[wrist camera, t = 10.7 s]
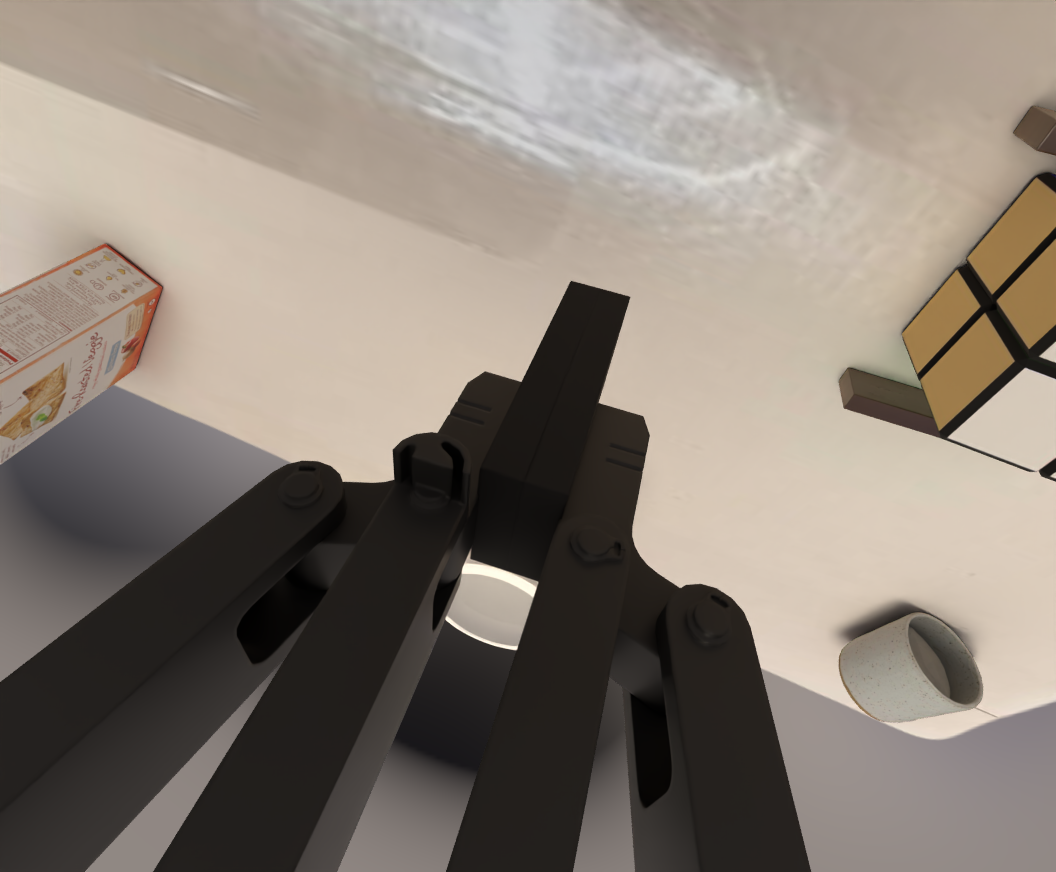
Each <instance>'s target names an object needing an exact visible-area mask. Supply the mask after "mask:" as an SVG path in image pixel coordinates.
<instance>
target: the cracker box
mask: <svg viewBox="0 0 1056 872" xmlns="http://www.w3.org/2000/svg"><path fill="white" fill-rule="evenodd" d="M161 290H162V287H161V286H160V285H159V284H157V283H156V282H155V281H153V280H152V279H151V278H149V277H148V276H147V275H146V274H144V273H143V272H142V271H140V270H139V269H138V268H136V267H135V266H134V265H133V264H131V263H130V262H129V261H127V260H126V259H125V258H123V257H122V256H121V255H120V254H118V253H117V252H116V251H114V250H113V249H112V248H110V247H109V246H108V245H106V244H103V245H101V246H99V247H97V248H95V249H92V250H90V251H88V252H86V253H84V254H82V255H80V256H78V257H76V258H74V259H72V260H70V261H68V262H65V263H63V264H61V265H59V266H57V267H55V268H53V269H51V270H49V271H47V272H45V273H42V274H40V275H38V276H36V277H34V278H32V279H30V280H28V281H26V282H24V283H22V284H20V285H17V286H15V287H13V288H11V289H9V290H7V291H5V292H3V293H1V294H0V465H1V464H2V463H3V462H5V461H6V460H8V459H9V458H10V457H12V456H13V455H14V454H16V453H18V452H19V451H20V450H22V449H23V448H25V447H26V446H28V445H29V444H30V443H32V442H33V441H34V440H36V439H37V438H39V437H40V436H42V435H43V434H44V433H46V432H47V431H49V430H50V429H51V428H53V427H54V426H55V425H57V424H58V423H60V422H61V421H63V420H64V419H65V418H67V417H68V416H70V415H71V414H72V413H74V412H75V411H77V410H78V409H79V408H81V407H82V406H84V405H85V404H86V403H88V402H89V401H91V400H92V399H94V398H95V397H96V396H98V395H99V394H101V393H102V392H103V391H105V390H106V389H108V388H109V387H110V386H112V385H113V384H115V383H116V382H117V381H119V380H120V379H122V378H123V377H125V376H126V375H127V374H129V373H130V372H131V371H133V370H134V369H135V368H136V365H137V361H138V358H139V356H140V353H141V349H142V346H143V343H144V340H145V337H146V335H147V331H148V329H149V326H150V323H151V320H152V317H153V314H154V311H155V308H156V305H157V302H158V299H159V296H160V294H161Z"/></svg>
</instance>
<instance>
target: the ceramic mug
mask: <svg viewBox="0 0 1056 872" xmlns="http://www.w3.org/2000/svg"><path fill="white" fill-rule="evenodd" d="M839 671H840V676H841V679H842V682H843V684H844V686H845V688H846V690H847V692H848V694H849V695H850V697H851V698H852V699H853V701H854V702H855V703H856V704H857V705H858V707H859V708H860V709H862V710H863V711H864V712H865V713H866V714H868V715H869V716H871V717H873V718H875V719H877V720H879V721H883V722H898V723H900V722H908V721H914V720H917V719H921V718H927V717H933V716H939V715H943V714H949V713H955V712H960V711H966V710H970V709H973V708H975V707H976V706H977V705H978V704H979V703H980V701H981V700H982V696H983V684H982V677H981V675H980V672H979V670H978V667H977V665H976V663H975V661H974V659H973V657H972V655H971V654H970V652H969V650H968V649H967V647H966V646H965V645H964V644H963V642H962V641H961V640H960V638H959V637H958V636H957V635H956V634H955V633H954V632H953V631H952V630H951V629H950V628H949V627H948V626H947V625H945V624H944V623H943V622H941V621H940V620H938V619H937V618H935V617H933V616H931V615H929V614H926V613H921V612H916V613H911V614H909V615H907V616H905V617H903V618H900V619H898V620H896V621H894V622H891V623H889V624H887V625H884V626H882V627H880V628H878V629H876V630H874V631H871V632H869V633H867V634H864V635H862V636H860V637H858V638H856V639H854V640H852V641H851V642H849V643H848V644H847V645H846V646H845V647H844V648H843V649H842V651H841V653H840V656H839Z"/></svg>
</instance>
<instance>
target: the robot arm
mask: <svg viewBox="0 0 1056 872" xmlns="http://www.w3.org/2000/svg"><path fill="white" fill-rule="evenodd" d="M629 300H630V297H629V296H625V295H622V294H618V293H614V292H611V291H607V290H603V289H600V288H596V287H592V286H588V285H585V284H581V283H577V282H574V281H571V282H570V284H569V286H568V288H567V290H566V292H565V294H564V296H563V298H562V300H561V302H560V304H559V306H558V308H557V310H556V313H555V315H554V317H553V319H552V321H551V323H550V325H549V327H548V329H547V331H546V333H545V335H544V337H543V339H542V341H541V343H540V345H539V347H538V349H537V352H536V354H535V356H534V358H533V360H532V362H531V364H530V366H529V368H528V370H527V372H526V374H525V376H524V378H523V380H522V382H519V381H516V380H512V379H509V378H506V377H502V376H499V375H495V374H492V373H489V372H484V373H482V374H481V375H479V376H478V377H476V378H475V379H473V380H471V381H470V382H468V383H467V385H466V387H465V388H464V390H463V392H462V393H461V395H460V397H459V398H458V402H456V403H455V405H454V407H453V408H452V410H451V412H450V415H448V417H447V418H446V420H445V422H444V423H443V425H442V427H441V428H440V430H439V432H438V433H433V432H430V433H422V434H415V435H413V436H411V437H409V438H406V439H404V440H402V441H401V442H400V443H399V444H398V445H397V446H396V447H395V448H394V449H393V463H394V480H392V481H388V482H380V483H361V482H342V479H341V476H340V474H339V473H338V472H337V471H336V470H335V469H333V468H332V467H331V466H329V465H326V464H324V463H321V462H318V461H300V462H295V463H291V464H287V465H285V466H283V467H281V468H280V469H278V470H276V471H274V472H272V473H271V474H270V475H269V476H267V477H266V478H265V479H263V480H262V481H261V482H259V483H258V484H257V485H255V486H254V487H253V488H252V489H250V490H249V491H248V492H246V493H245V494H244V495H243V496H241V497H240V498H239V499H238V500H236V501H235V502H233V503H232V504H231V505H230V506H228V507H227V508H226V509H224V510H223V511H222V512H220V513H219V514H218V515H217V516H215V517H214V518H213V519H211V520H210V521H209V522H207V523H206V524H205V525H204V526H202V527H201V528H200V529H198V530H197V531H196V532H195V533H193V534H192V535H191V536H189V537H188V538H187V539H186V540H184V541H183V542H181V543H180V544H179V545H178V546H176V547H175V548H174V549H172V550H171V551H170V552H169V553H167V554H166V555H165V556H163V557H162V558H161V559H160V560H158V561H157V562H156V563H154V564H153V565H152V566H150V567H149V568H148V569H147V570H145V571H144V572H143V573H141V574H140V575H139V576H137V577H136V578H135V579H133V580H132V581H131V582H130V583H128V584H127V585H126V586H125V587H123V588H122V589H120V590H119V591H118V592H117V593H115V594H114V595H113V596H112V597H110V598H109V599H108V600H106V601H105V602H104V603H102V604H101V605H100V606H99V607H97V608H96V609H95V610H93V611H92V612H91V613H89V614H88V615H87V616H85V617H84V618H83V619H82V620H80V621H79V622H78V623H76V624H75V625H74V626H73V627H71V628H70V629H69V630H67V631H66V632H65V633H63V634H62V635H61V636H60V637H58V638H57V639H56V640H54V641H53V642H52V643H51V644H49V645H48V646H47V647H45V648H44V649H43V650H41V651H40V652H39V653H37V654H36V655H35V656H34V657H32V658H31V659H30V660H29V661H27V662H26V663H25V664H23V665H22V666H21V667H19V668H18V669H17V670H15V671H14V672H13V673H12V674H10V675H9V676H8V677H6V678H5V679H4V680H2V681H1V682H0V872H85V871H86V870H87V868H88V867H89V866H90V865H91V864H92V863H93V862H94V861H95V860H96V859H97V858H98V857H99V856H100V855H101V854H102V852H103V851H104V850H105V849H106V848H107V847H108V846H109V845H110V844H111V843H112V842H113V841H114V840H115V838H117V836H118V835H119V834H120V833H121V832H122V831H123V830H124V829H125V828H126V827H127V826H128V825H129V824H130V823H131V821H132V820H133V819H134V818H135V817H136V816H137V815H138V814H139V813H140V812H141V811H142V810H143V809H144V807H146V805H148V803H149V802H150V801H151V800H152V799H153V798H154V797H155V796H156V795H157V794H158V793H159V792H160V791H161V790H162V789H163V787H164V786H165V785H166V784H167V783H168V782H169V781H170V780H171V779H172V778H173V777H174V776H175V775H176V774H177V772H178V771H179V770H180V769H181V768H182V767H183V766H184V765H185V764H186V763H187V762H188V761H189V760H190V759H191V758H192V757H193V755H194V754H195V753H196V752H197V751H198V750H199V749H200V748H201V747H202V746H203V745H204V744H205V743H206V742H207V741H208V739H209V738H210V737H211V736H212V735H213V734H214V733H215V732H216V731H217V730H218V729H219V728H220V727H221V726H222V725H223V723H225V721H226V720H227V719H228V718H229V717H230V716H231V715H232V714H233V713H234V712H235V711H236V710H237V709H238V708H239V706H240V705H241V704H242V703H243V702H244V701H245V700H246V699H247V698H248V697H249V696H250V695H251V694H252V693H253V692H254V691H255V689H256V688H257V687H258V686H259V685H260V684H261V683H262V682H263V681H264V680H265V679H266V678H267V677H268V676H269V674H270V673H271V672H272V671H273V670H274V669H275V668H276V667H277V666H278V665H279V664H280V663H281V662H282V661H283V660H284V659H285V660H284V662H283V663H282V665H281V667H280V668H279V670H278V671H277V673H276V674H275V676H274V678H273V679H272V681H271V683H270V684H269V686H268V687H267V689H266V691H265V692H264V694H263V696H262V697H261V699H260V701H259V702H258V704H257V705H256V707H255V709H254V710H253V712H252V713H251V715H250V717H249V718H248V720H247V721H246V723H245V724H244V726H243V728H242V729H241V731H240V733H239V734H238V736H237V738H236V739H235V741H234V742H233V744H232V746H231V747H230V749H229V750H228V752H227V753H226V755H225V757H224V758H223V760H222V762H221V763H220V765H219V766H218V768H217V770H216V771H215V773H214V775H213V776H212V778H211V779H210V781H209V783H208V784H207V786H206V787H205V789H204V791H203V792H202V794H201V795H200V797H199V799H198V800H197V802H196V804H195V805H194V807H193V808H192V810H191V812H190V813H189V815H188V816H187V818H186V820H185V821H184V823H183V825H182V826H181V828H180V829H179V831H178V832H177V834H176V836H175V837H174V839H173V841H172V842H171V844H170V845H169V847H168V849H167V850H166V852H165V854H164V855H163V857H162V858H161V860H160V862H159V863H158V865H157V866H156V868H155V870H154V871H153V872H337V871H338V868H339V866H340V863H341V861H342V859H343V857H344V854H345V852H346V850H347V847H348V845H349V843H350V840H351V838H352V835H353V833H354V831H355V829H356V826H357V824H358V822H359V819H360V817H361V815H362V812H363V810H364V808H365V805H366V803H367V801H368V798H369V796H370V794H371V791H372V789H373V787H374V784H375V782H376V780H377V777H378V775H379V773H380V770H381V768H382V766H383V763H384V761H385V759H386V756H387V754H388V751H389V749H390V747H391V745H392V742H393V740H394V738H395V735H396V733H397V730H398V728H399V726H400V724H401V721H402V719H403V716H404V714H405V712H406V709H407V707H408V705H409V703H410V700H411V698H412V696H413V693H414V691H415V688H416V686H417V684H418V681H419V679H420V677H421V675H422V672H423V670H424V667H425V665H426V663H427V660H428V658H429V656H430V653H431V651H432V649H433V646H434V644H435V642H436V639H437V637H438V635H439V632H440V630H441V628H442V625H443V623H444V620H445V618H446V616H447V614H448V611H449V609H450V607H451V604H452V602H453V600H454V597H455V595H456V593H457V590H458V588H459V586H460V581H461V576H462V568H463V566H464V563H465V561H466V559H467V557H468V554H469V552H470V550H471V554H470V559H472V560H475V561H478V562H481V563H484V564H487V565H490V566H493V567H496V568H499V569H502V570H505V571H508V572H511V573H514V574H517V575H520V576H523V577H526V578H529V579H532V580H535V581H538V585H537V588H536V591H535V594H534V598H533V601H532V604H531V607H530V610H529V613H528V616H527V620H526V623H525V626H524V629H523V632H522V635H521V638H520V641H519V645H518V648H517V651H516V654H515V657H514V660H513V663H512V667H511V670H510V673H509V676H508V679H507V682H506V685H505V689H504V692H503V695H502V698H501V701H500V704H499V707H498V711H497V714H496V717H495V720H494V723H493V726H492V729H491V732H490V735H489V739H488V742H487V745H486V748H485V751H484V754H483V757H482V760H481V764H480V767H479V770H478V773H477V776H476V779H475V782H474V786H473V789H472V792H471V795H470V798H469V801H468V804H467V807H466V811H465V814H464V817H463V820H462V823H461V826H460V830H459V833H458V836H457V839H456V842H455V845H454V848H453V851H452V855H451V858H450V861H449V864H448V867H447V870H446V872H573V868H574V863H575V857H576V852H577V846H578V841H579V836H580V830H581V825H582V819H583V814H584V808H585V804H586V798H587V793H588V787H589V782H590V777H591V772H592V766H593V760H594V755H595V750H596V745H597V739H598V734H599V728H600V723H601V718H602V712H603V707H604V702H605V697H606V691H607V686H608V680H609V677H610V678H611V679H613V680H614V681H615V682H617V683H618V684H619V685H621V686H622V691H623V706H624V720H625V734H626V748H627V762H628V776H629V791H630V804H631V818H632V833H633V848H634V860H635V872H811V869H810V865H809V861H808V857H807V853H806V850H805V845H804V841H803V837H802V833H801V829H800V825H799V821H798V817H797V813H796V809H795V805H794V801H793V797H792V793H791V789H790V785H789V781H788V777H787V772H786V769H785V765H784V760H783V757H782V753H781V748H780V744H779V740H778V736H777V732H776V728H775V724H774V720H773V716H772V712H771V708H770V704H769V700H768V696H767V692H766V689H765V684H764V680H763V676H762V672H761V668H760V664H759V660H758V656H757V652H756V648H755V643H754V639H753V635H752V631H751V627H750V625H749V623H748V621H747V618H746V616H745V614H744V612H743V611H742V609H741V608H740V607H739V606H738V605H737V604H736V602H735V601H734V600H733V599H732V598H731V597H729V596H728V595H726V594H725V593H723V592H721V591H720V590H718V589H717V588H713V587H710V586H706V585H703V584H694V585H685V586H683V587H682V588H679V587H677V586H676V585H674V584H673V583H671V582H670V581H668V580H667V579H665V578H664V577H662V576H661V575H659V574H658V573H657V572H655V571H654V570H653V569H652V568H650V567H649V566H648V565H647V564H646V563H645V562H644V560H643V559H642V558H641V557H640V555H639V553H638V551H637V550H636V548H635V546H634V542H633V538H632V526H633V520H634V515H635V510H636V505H637V499H638V494H639V489H640V484H641V479H642V473H643V472H642V471H643V468H644V463H645V458H646V457H645V456H646V452H647V447H648V442H649V437H650V435H649V432H648V429H647V426H646V423H645V420H644V417H643V416H640V415H637V414H634V413H630V412H627V411H623V410H620V409H617V408H613V407H610V406H606V405H603V404H600V403H599V399H600V396H601V393H602V390H603V386H604V383H605V380H606V376H607V373H608V370H609V366H610V363H611V360H612V356H613V353H614V350H615V346H616V343H617V340H618V337H619V333H620V330H621V327H622V323H623V320H624V317H625V313H626V310H627V307H628V303H629ZM286 656H287V657H286Z"/></svg>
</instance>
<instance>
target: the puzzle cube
mask: <svg viewBox="0 0 1056 872" xmlns="http://www.w3.org/2000/svg"><path fill="white" fill-rule="evenodd" d="M967 264H968V266H966V267H963V268H960V269H957V270H956V271H955V272H954V273H953V275H952V276H951V277H950V278H949V279H948V280H947V282H946V283H945V284H944V285H943V286H942V287H941V289H940V290H939V291H938V292H937V293H936V295H935V296H934V297H933V298H932V299H931V300H930V302H929V303H928V304H927V305H926V306H925V307H924V309H923V310H922V311H921V312H920V313H919V314H918V316H917V317H916V318H915V319H914V320H913V321H912V323H911V324H910V325H909V326H908V327H907V328H906V330H905V331H904V332H903V333H902V337H903V341H904V343H905V346H906V348H907V351H908V354H909V356H910V359H911V361H912V364H913V367H914V369H915V372H916V374H917V377H918V379H919V381H920V382H921V386H922V389H923V392H924V395H925V397H926V400H927V403H928V405H929V408H930V411H931V414H932V416H933V419H934V422H935V424H936V427H937V430H938V432H939V435H940V438H941V439H944V440H947V441H949V442H952V443H955V444H957V445H960V446H963V447H965V448H968V449H970V450H973V451H976V452H978V453H981V454H984V455H986V456H989V457H991V458H994V459H997V460H999V461H1002V462H1005V463H1007V464H1010V465H1013V466H1015V467H1018V468H1020V469H1023V470H1026V471H1028V472H1037V471H1039V473H1040V475H1041V476H1042V477H1045V478H1047V479H1050V480H1053V481H1055V482H1056V175H1054V174H1051V173H1046V174H1043V175H1040V176H1038V177H1036V178H1035V179H1034V180H1033V182H1032V183H1031V184H1030V185H1029V186H1028V187H1027V189H1026V190H1025V191H1024V192H1023V193H1022V194H1021V196H1020V197H1019V198H1018V199H1017V200H1016V201H1015V203H1014V204H1013V205H1012V206H1011V207H1010V208H1009V210H1008V211H1007V212H1006V213H1005V214H1004V215H1003V217H1002V218H1001V219H1000V220H999V221H998V222H997V224H996V225H995V226H994V227H993V228H992V229H991V231H990V232H989V233H988V234H987V235H986V236H985V238H984V239H983V240H982V241H981V242H980V243H979V245H978V246H977V247H976V248H975V249H974V250H973V252H972V253H971V254H970V255H969V256H968V257H967Z"/></svg>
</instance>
